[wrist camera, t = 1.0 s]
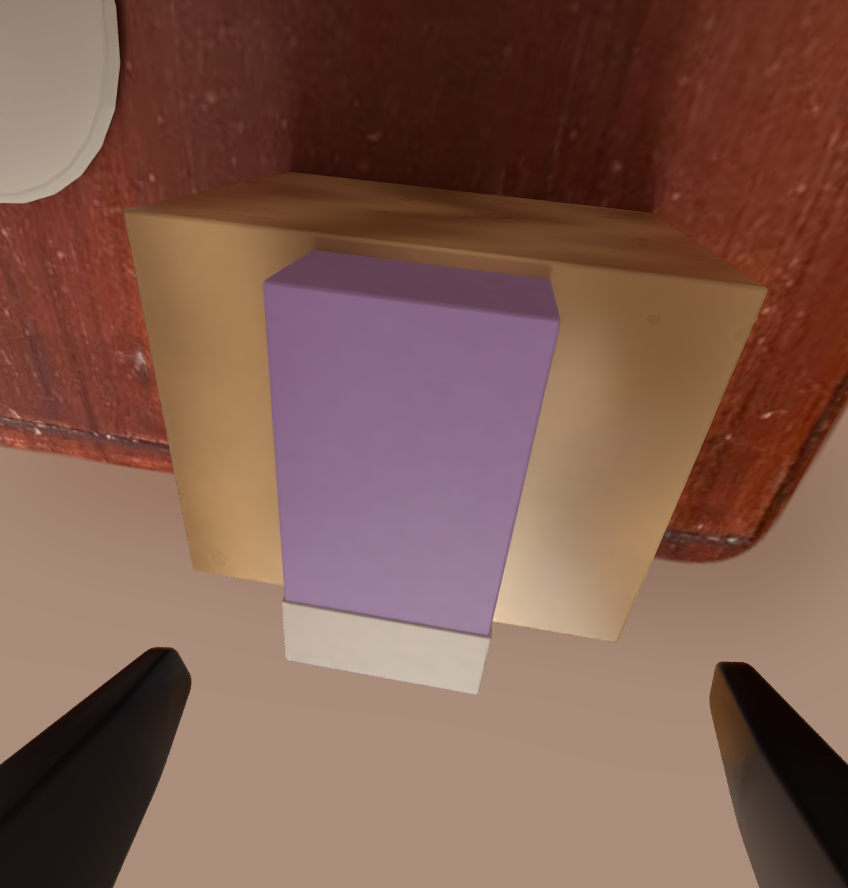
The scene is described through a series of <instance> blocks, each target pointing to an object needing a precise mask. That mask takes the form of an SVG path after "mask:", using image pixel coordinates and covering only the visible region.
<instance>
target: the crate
mask: <svg viewBox="0 0 848 888" xmlns="http://www.w3.org/2000/svg"><path fill="white" fill-rule="evenodd" d="M124 218H125V223H126V228H127V233H128V238H129V243H130V249H131V254H132V259H133V264H134V269H135V274H136V279H137V284H138V289H139V294H140V300H141V305H142V310H143V315H144V320H145V325H146V330H147V335H148V340H149V346H150V351H151V356H152V361H153V366H154V371H155V376H156V381H157V386H158V392H159V397H160V402H161V407H162V412H163V417H164V422H165V427H166V432H167V437H168V443H169V448H170V453H171V458H172V463H173V468H174V473H175V478H176V483H177V488H178V494H179V499H180V504H181V509H182V514H183V519H184V524H185V529H186V534H187V539H188V545H189V549H190V555H191V560H192V565H193V569H194V570H196V571H202V572H208V573H213V574H219V575H225V576H231V577H237V578H243V579H248V580H254V581H260V582H266V583H271V584H277V585H283V586H284V580H283V566H282V551H281V537H280V522H279V508H278V493H277V479H276V464H275V450H274V435H273V421H272V406H271V392H270V378H269V363H268V349H267V334H266V320H265V305H264V291H263V282H264V280H266V279H267V278H269V277H271V276H272V275H274V274H275V273H277V272H279V271H280V270H282V269H283V268H285V267H287V266H288V265H290V264H291V263H293V262H295V261H296V260H298V259H299V258H301V257H303V256H304V255H306V254H307V253H309V252H311V251H313V250H318V251H326V252H334V253H342V254H350V255H358V256H367V257H375V258H383V259H391V260H399V261H407V262H415V263H423V264H431V265H439V266H447V267H455V268H463V269H471V270H480V271H488V272H496V273H504V274H512V275H520V276H528V277H536V278H544V279H549V280H551V284H552V288H553V292H554V296H555V300H556V304H557V308H558V312H559V316H560V320H561V324H560V328H559V333H558V337H557V341H556V346H555V350H554V354H553V359H552V363H551V368H550V372H549V376H548V381H547V385H546V389H545V394H544V398H543V402H542V407H541V411H540V416H539V420H538V424H537V429H536V433H535V437H534V442H533V446H532V451H531V455H530V459H529V464H528V468H527V472H526V477H525V481H524V486H523V490H522V494H521V499H520V503H519V507H518V512H517V516H516V521H515V525H514V529H513V534H512V538H511V542H510V547H509V551H508V555H507V560H506V564H505V569H504V573H503V577H502V582H501V586H500V590H499V595H498V599H497V604H496V608H495V612H494V617H493V621H492V622H497V623H503V624H509V625H515V626H521V627H527V628H533V629H538V630H544V631H549V632H555V633H561V634H567V635H573V636H579V637H584V638H590V639H596V640H602V641H608V642H613V643H616V642H618V640H619V637H620V635H621V632H622V630H623V628H624V626H625V623H626V621H627V619H628V616H629V614H630V612H631V609H632V607H633V605H634V602H635V600H636V598H637V595H638V593H639V591H640V588H641V586H642V584H643V581H644V579H645V577H646V574H647V572H648V570H649V567H650V565H651V563H652V560H653V558H654V556H655V553H656V551H657V549H658V546H659V544H660V542H661V539H662V537H663V535H664V532H665V530H666V528H667V525H668V523H669V521H670V518H671V516H672V514H673V511H674V509H675V507H676V504H677V502H678V500H679V497H680V495H681V493H682V490H683V488H684V486H685V483H686V481H687V479H688V476H689V474H690V472H691V469H692V467H693V465H694V462H695V460H696V458H697V455H698V453H699V451H700V448H701V446H702V444H703V441H704V439H705V437H706V434H707V432H708V430H709V427H710V425H711V423H712V420H713V418H714V416H715V413H716V411H717V409H718V406H719V404H720V402H721V399H722V397H723V395H724V392H725V390H726V388H727V385H728V383H729V381H730V378H731V376H732V373H733V371H734V369H735V366H736V364H737V362H738V359H739V357H740V355H741V352H742V350H743V348H744V345H745V343H746V341H747V338H748V336H749V334H750V331H751V329H752V327H753V324H754V322H755V320H756V317H757V315H758V313H759V310H760V308H761V306H762V303H763V301H764V299H765V296H766V294H767V287H765V286H764V285H762V284H761V283H759V282H757V281H756V280H754V279H753V278H751V277H750V276H748V275H747V274H745V273H744V272H742V271H741V270H739V269H738V268H736V267H735V266H733V265H731V264H730V263H728V262H727V261H725V260H724V259H722V258H721V257H719V256H718V255H716V254H715V253H713V252H712V251H710V250H708V249H707V248H705V247H704V246H702V245H701V244H699V243H698V242H696V241H695V240H693V239H692V238H690V237H689V236H687V235H686V234H684V233H682V232H681V231H679V230H678V229H676V228H675V227H673V226H672V225H670V224H669V223H667V222H666V221H664V220H663V219H661V218H660V217H658V216H656V215H655V214H653V213H650V212H641V211H632V210H623V209H614V208H606V207H597V206H588V205H579V204H570V203H561V202H552V201H544V200H535V199H526V198H517V197H508V196H499V195H491V194H482V193H473V192H464V191H455V190H446V189H438V188H429V187H420V186H411V185H402V184H393V183H385V182H376V181H367V180H358V179H349V178H340V177H332V176H323V175H314V174H305V173H296V172H287V173H283V174H278V175H274V176H269V177H265V178H261V179H256V180H252V181H248V182H243V183H239V184H234V185H230V186H226V187H221V188H217V189H212V190H208V191H204V192H199V193H195V194H191V195H186V196H182V197H177V198H173V199H169V200H164V201H160V202H156V203H151V204H147V205H142V206H138V207H134V208H129V209H126V210H125V211H124Z"/></svg>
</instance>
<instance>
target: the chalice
mask: <svg viewBox="0 0 848 888" xmlns="http://www.w3.org/2000/svg"><path fill="white" fill-rule="evenodd" d="M119 69H120V53H119V40H118V27H117V13H116V5H115V1H114V0H0V203H27V202H31V201H34V200H37V199H41V198H44V197H47V196H51V195H54V194H56V193H57V192H59V191H60V190H62V189H63V188H64V187H66V186H67V185H69V184H70V183H71V182H73V181H74V180H76V179H77V178H78V177H80V176H81V175H82V174H83V172H84V171H85V169H86V168H87V167H88V165H89V164H90V162H91V161H92V160H93V158H94V157H95V156H96V154H97V153H98V151H99V150H100V149H101V147H102V144H103V141H104V139H105V136H106V133H107V130H108V128H109V125H110V122H111V119H112V116H113V114H114V111H115V105H116V96H117V87H118V78H119Z"/></svg>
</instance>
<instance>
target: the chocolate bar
mask: <svg viewBox="0 0 848 888" xmlns="http://www.w3.org/2000/svg"><path fill="white" fill-rule="evenodd" d="M263 291H264V305H265V320H266V334H267V349H268V363H269V378H270V392H271V406H272V421H273V435H274V450H275V464H276V479H277V493H278V508H279V522H280V537H281V551H282V566H283V580H284V594H285V596H284V598H283V600H282V614H283V627H284V640H285V653H286V659H287V660H291V661H294V662H300V663H305V664H311V665H316V666H322V667H327V668H333V669H338V670H343V671H349V672H355V673H360V674H365V675H371V676H376V677H381V678H387V679H393V680H398V681H404V682H409V683H415V684H420V685H425V686H431V687H436V688H442V689H447V690H453V691H458V692H463V693H469V694H478V693H479V689H480V685H481V680H482V677H483V672H484V668H485V664H486V659H487V655H488V651H489V647H490V642H491V638H492V621H493V617H494V612H495V608H496V604H497V599H498V595H499V590H500V586H501V582H502V577H503V573H504V569H505V564H506V560H507V555H508V551H509V547H510V542H511V538H512V534H513V529H514V525H515V521H516V516H517V512H518V507H519V503H520V499H521V494H522V490H523V486H524V481H525V477H526V472H527V468H528V464H529V459H530V455H531V451H532V446H533V442H534V437H535V433H536V429H537V424H538V420H539V416H540V411H541V407H542V402H543V398H544V394H545V389H546V385H547V381H548V376H549V372H550V368H551V363H552V359H553V354H554V350H555V346H556V341H557V337H558V333H559V328H560V324H561V320H560V316H559V312H558V308H557V304H556V300H555V296H554V292H553V288H552V284H551V280H549V279H544V278H536V277H528V276H520V275H512V274H504V273H496V272H488V271H480V270H471V269H463V268H455V267H447V266H439V265H431V264H423V263H415V262H407V261H399V260H391V259H383V258H375V257H367V256H358V255H350V254H342V253H334V252H326V251H318V250H313V251H311V252H309V253H307V254H306V255H304V256H303V257H301V258H299V259H298V260H296V261H295V262H293V263H291V264H290V265H288V266H287V267H285V268H283V269H282V270H280V271H279V272H277V273H275V274H274V275H272V276H271V277H269V278H267V279H266V280H264V282H263Z"/></svg>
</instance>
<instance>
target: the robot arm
mask: <svg viewBox="0 0 848 888" xmlns="http://www.w3.org/2000/svg"><path fill="white" fill-rule="evenodd" d="M190 689H191V675H190V673H189V672H188V670H187V668H186V666H185V664H184V662H183V661H182V659H181V657H180V655H179V654H178V652H177V651H176V650H175V649H173V648H170V647H155V648H151V649H149V650H147V651H146V652H144V653H143V654H142V655H141V656H139V657H138V658H137V659H135V660H134V661H133V662H131V663H130V664H129V665H128V666H126V667H125V668H124V669H123V670H121V671H120V672H119V673H117V674H116V675H115V676H113V677H112V678H111V679H110V680H108V681H107V682H106V683H104V684H103V685H102V686H101V687H99V688H98V689H97V690H95V691H94V692H93V693H92V694H90V695H89V696H88V697H86V698H85V699H84V700H83V701H81V702H80V703H79V704H78V705H76V706H75V707H74V708H72V709H71V710H70V711H68V712H67V713H66V714H65V715H63V716H62V717H61V718H59V719H58V720H57V721H56V722H54V723H53V724H52V725H50V726H49V727H48V728H47V729H45V730H44V731H43V732H42V733H40V734H39V735H38V736H37V737H35V738H34V739H33V740H31V741H30V742H29V743H27V744H26V745H25V746H23V747H22V748H21V749H20V750H18V751H17V752H16V753H14V754H13V755H12V756H11V757H9V758H8V759H7V760H6V761H4V762H3V763H2V764H0V888H113V886H114V884H115V882H116V879H117V877H118V875H119V872H120V870H121V868H122V865H123V863H124V861H125V859H126V856H127V854H128V852H129V850H130V847H131V845H132V843H133V840H134V838H135V836H136V833H137V831H138V829H139V827H140V824H141V822H142V820H143V817H144V815H145V813H146V810H147V808H148V806H149V804H150V801H151V799H152V797H153V794H154V792H155V790H156V787H157V785H158V782H159V780H160V778H161V775H162V772H163V769H164V766H165V764H166V761H167V758H168V755H169V752H170V749H171V746H172V743H173V740H174V737H175V734H176V731H177V728H178V725H179V722H180V719H181V717H182V714H183V710H184V708H185V705H186V701H187V699H188V695H189V693H190ZM710 709H711V714H712V718H713V722H714V727H715V731H716V735H717V740H718V743H719V748H720V752H721V757H722V761H723V765H724V769H725V774H726V777H727V782H728V786H729V790H730V795H731V799H732V803H733V807H734V811H735V815H736V819H737V823H738V826H739V829H740V832H741V835H742V838H743V842H744V845H745V848H746V851H747V854H748V856H749V859H750V862H751V865H752V868H753V870H754V873H755V877H756V879H757V882H758V885H759V888H848V764H847V763H846V762H845V761H844V760H843V759H842V758H841V757H840V756H839V755H838V754H837V753H836V752H835V751H834V750H833V749H832V748H831V747H830V746H829V745H828V744H827V743H826V742H825V741H824V740H823V739H822V737H821V736H819V734H818V733H816V731H814V729H813V728H812V727H811V726H810V725H809V724H808V723H807V722H806V721H805V720H804V719H803V718H802V717H801V716H800V715H799V714H798V713H797V712H796V711H795V710H794V709H793V708H792V707H791V706H790V705H789V704H788V703H787V702H786V701H785V700H784V699H783V698H782V697H781V696H780V695H779V694H778V692H776V690H775V689H774V688H773V687H772V686H771V685H770V684H769V683H768V682H767V681H766V680H765V679H764V678H763V677H762V676H761V675H760V674H759V673H758V672H757V671H756V670H755V669H754V668H753V667H752V666H750V665H749V664H747V663H744V662H719V663H718V664H717V665H716V667H715V672H714V676H713V681H712V687H711V692H710Z"/></svg>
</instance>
